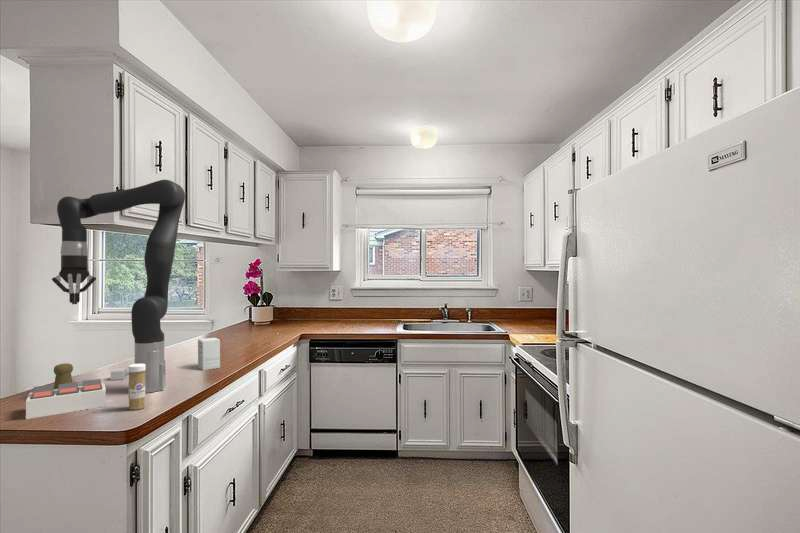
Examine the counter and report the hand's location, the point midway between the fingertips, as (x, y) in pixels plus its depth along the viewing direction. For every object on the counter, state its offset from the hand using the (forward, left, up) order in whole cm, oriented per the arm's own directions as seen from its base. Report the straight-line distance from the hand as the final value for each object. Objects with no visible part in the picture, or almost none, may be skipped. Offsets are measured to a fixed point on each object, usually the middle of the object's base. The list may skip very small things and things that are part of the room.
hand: (74, 304), depth 152 cm
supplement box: (-42, -24, -31) cm, 58 cm away
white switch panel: (-4, +20, -31) cm, 37 cm away
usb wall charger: (-11, -16, -31) cm, 37 cm away
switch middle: (-4, +20, -26) cm, 33 cm away
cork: (+2, +4, -31) cm, 32 cm away
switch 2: (-10, +19, -26) cm, 33 cm away
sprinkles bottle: (-24, +28, -31) cm, 48 cm away
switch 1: (+2, +22, -26) cm, 34 cm away
